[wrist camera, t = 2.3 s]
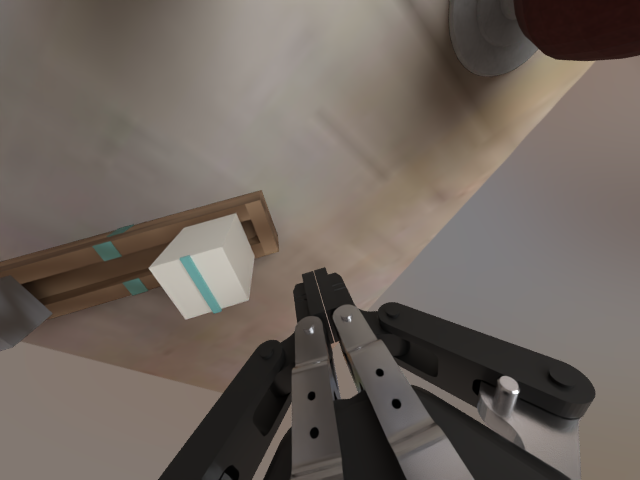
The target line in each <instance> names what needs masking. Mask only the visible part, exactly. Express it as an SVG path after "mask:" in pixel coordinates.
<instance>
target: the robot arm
mask: <svg viewBox="0 0 640 480" xmlns="http://www.w3.org/2000/svg"><path fill="white" fill-rule="evenodd" d="M314 272H315V276H316V279H317V283H318V286H319V289H320V293H321V296H322V300H323V303H324V306H325V310H326V313H327V316H328V320H329V323H330V326H331V330H332V333H333V336H334V340H335V342H338V341H339V343H340V346H341V349H342V352H343V356H344V359H345V361H346V364H347V366H348V368H349V371H350V373H351V376H352V378H353V381H354V383H355V385H356V388H357V391H358V394H357V395H355V396H354V397H352V398H350V399H341V397H340V392H339V386H338V381H337V376H336V370H335V365H334V359H333V352H332V348H331V344H332V343H334V341H333V337H332V334H331V331H330V327H329V324H328V320H327V317H326V313H325V310H324V307H323V303H322V300H321V296H320V293H319V290H318V286H317V283H316V279H315V276H314V273H313V271H311V272H308V273H305V274H302V278H303V283H300V284H297V285H295V288H294V290H293V294H294V301H295V309H296V317H297V325H296V327H295V331H294V333H293V334H292V335H291V336H290V337H289V338H287V339H286V340H284V341H283V342H281V343H280V342H279V341H277V340H269V341H266V342H264V343H262V344H261V345H260V346H259V347H258V348H257V349H256V350H255V352H254V353H253V354H252V355H251V357H250V358H249V359H248V361H247V362H246V363H245V365H244V366H243V367H242V369H241V370H240V371H239V373H238V374H237V375H236V377H235V378H234V379H233V381H232V382H231V383H230V385H229V386H228V387H227V389H226V390H225V391H224V393H223V394H222V396H221V397H220V398H219V399H218V401H217V402H216V403H215V405H214V406H213V407H212V409H211V410H210V411H209V413H208V414H207V415H206V417H205V418H204V419H203V421H202V422H201V423H200V425H199V426H198V428H197V429H196V430H195V431H194V433H193V434H192V435H191V437H190V438H189V439H188V440H187V442H186V443H185V445H184V446H183V447H182V448H181V450H180V451H179V452H178V454H177V455H176V456H175V458H174V459H173V461H172V462H171V463H170V464H169V466H168V467H167V468H166V470H165V471H164V472H163V474H162V475H161V476H160V478H159V479H158V480H252V478H253V476H254V474H255V472H256V470H257V468H258V466H259V464H260V463H261V461H262V459H263V457H264V455H265V453H266V451H267V449H268V447H269V445H270V443H271V441H272V439H273V437H274V435H275V433H276V432H277V430H278V427H279V426H280V424H281V422H282V420H283V418H284V416H285V414H286V412H287V410H288V408H289V406H290V404H291V402H292V427H291V428H290V429H289V430H288V431H287V433H286V434H285V435H284V437H283V439H282V440H281V442H280V444H279V446H278V448H277V451H276V453H275V455H274V457H273V459H272V461H271V464H270V466H269V468H268V470H267V472H266V475H265V477H264V479H263V480H581V467H580V446H579V426H578V424H579V422H580V420H581V419H582V417H583V415H584V414H585V412H586V411H587V409H588V407H589V406H590V404H591V402H592V401H593V399H594V398H595V389H594V387H593V385H592V383H591V382H590V381H589V379H588V378H587V377H586V376H585V375H584V374H582V373H581V372H580V371H579V370H577V369H576V368H574V367H572V366H571V365H569V364H567V363H564V362H562V361H559V360H556V359H553V358H551V357H548V356H545V355H542V354H540V353H537V352H534V351H531V350H528V349H526V348H523V347H520V346H517V345H514V344H511V343H508V342H506V341H503V340H500V339H498V338H494V337H492V336H489V335H486V334H483V333H481V332H477V331H475V330H472V329H469V328H466V327H464V326H461V325H458V324H455V323H453V322H450V321H447V320H444V319H441V318H439V317H436V316H433V315H430V314H427V313H424V312H422V311H418V310H416V309H413V308H410V307H408V306H405V305H402V304H399V303H395V302H389V303H386V304H383V305H382V306H381V307H380V308H379V309H378V311H376V312H375V311H374V312H367V311H363V310H360V309H358V308H357V307H356V306H355V304H354V302H353V300H352V298H351V296H350V294H349V292H348V290H347V288H346V286H345V284H344V281H343V279H342V277H341V276H340V275H338V274H337V273H332V274H329V275H328V273H327V271H326V268H325V267H324V268H321V269H318V270H314ZM398 365H399V366H401V367H402V368H404V369H406V370H408V371H410V372H412V373H413V374H415V375H417V376H419V377H421V378H423V379H424V380H426V381H428V382H430V383H432V384H434V385H435V386H437V387H439V388H441V389H443V390H445V391H446V392H448V393H450V394H452V395H454V396H456V397H458V398H459V399H461V400H463V401H465V402H467V403H469V404H470V405H472V406H474V407H476V408H477V409H478V413H479V415H480V417H481V418H482V420H483V421H484V422H485V424H486V425H487V426H488V427H490V428H491V429H492V430H491V429H490V428H488V427H486V426H485V425H483V424H481V423H480V422H478V421H476V420H475V419H473V418H472V417H470V416H468V415H466V414H465V413H463V412H461V411H460V410H458V409H457V408H455V407H454V406H452V405H450V404H448V403H447V402H445V401H444V400H442V399H440V398H439V397H437V396H435V395H434V394H432V393H430V392H429V391H427V390H425V389H423V388H420V387H417V386H414V385H410V384H409V382H408V380H407V379H406V377H405V376H404V374H403V373H402V371H401V369H400V368H399V366H398Z"/></svg>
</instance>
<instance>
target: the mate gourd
mask: <svg viewBox="0 0 640 480" xmlns="http://www.w3.org/2000/svg"><path fill="white" fill-rule="evenodd" d="M449 31H450V37H451V41H452V45H453V49H454V51H455V53H456V55H457V57H458V59H459V60H460V62H461V63H462V64H463V66H464V67H465V68H467V69H468V70H469V71H471V72H472V73H474V74H477V75H480V76H489V77H491V76H496V75H500V74H504V73H507V72H509V71H512V70H514V69H516V68H517V67H519V66H520V65H522V64H523V63H524V62H526V61H527V60H528V59H529V58H530V57H531V56H532V55H533V54H534V53H535V52H536V51H537V50H538V49H540V50H541V51H542V52H543V53H544V54H545V55H547V56H550V57H552V58H554V59H558V60H574V61H595V60H609V59H622V58H628V57H633V56H638V55H640V0H450V4H449Z"/></svg>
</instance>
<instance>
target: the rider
mask: <svg viewBox="0 0 640 480" xmlns="http://www.w3.org/2000/svg"><path fill="white" fill-rule="evenodd" d="M254 258H255V256H254V253H253V251H252V249H251V246H250V244H249V242H248V239H247V236H246V234H245V232H244V229H243V227H242V225H241V222H240V221H239V219H238V216H237V214H236V213H235V214H231V215H228V216H224V217H221V218H217V219H213V220H210V221H206V222H203V223H199V224H196V225H192V226H188V227H185V228H183V229H182V231H181V232H180V233H179V234H178V235H177V236H176V237H175V239H174V240H173V241H172V242H171V243H170V244H169V245H168V246H167V248H166V249H165V250H164V251H163V252H162V253H161V254H160V255H159V257H158V258H157V259H156V260H155V261H154V262H153V263H152V265H151V266H150V267H149V270H150V271H151V272H152V274H153V275H154V277H155V278H156V279H157V281H158V282H159V284H160V285H161V286H162V288H163V289H164V290H165V292H166V293H167V295H168V296H169V297H170V299H171V300H172V302H173V303H174V304H175V306H176V307H177V308H178V310H179V311H180V313H181V314H182V315H183V317H184V318H185V319H189V318H193V317H196V316H199V315H202V314H206V313H209V312H213V313H214V314H215V313H218V312H221V311H222V308H225V307H229V306H232V305H235V304H238V303H242V302H245V301H248V300H249V296H250V288H251V280H252V273H253V265H254Z"/></svg>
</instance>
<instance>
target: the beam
mask: <svg viewBox="0 0 640 480" xmlns="http://www.w3.org/2000/svg"><path fill="white" fill-rule="evenodd" d="M235 213H236V214H237V216H238V219H239V221H240V222H241V225H242V227H243V229H244V232H245V234H246V236H247V239H248V242H249V244H250V246H251V249H252V251H253V253H254V256H255V258H258V257H262V256H265V255H269V254H272V253H275V252H279V245H278V235H277V232H276V229H275V226H274V224H273V221H272V218H271V215H270V212H269V210H268V207H267V204H266V201H265V198H264V196H263V193H262V190H260V191H257V192H253V193H249V194H246V195H242V196H238V197H235V198H231V199H228V200H224V201H220V202H217V203H213V204H209V205H206V206H202V207H198V208H195V209H191V210H188V211H184V212H180V213H177V214H173V215H169V216H166V217H162V218H158V219H155V220H151V221H148V222H144V223H140V224H137V225H130V226H126V227H122V228H119V229H117V230H115V231H111V232H107V233H104V234H100V235H97V236H93V237H89V238H86V239H82V240H78V241H75V242H71V243H67V244H64V245H60V246H57V247H53V248H49V249H46V250H42V251H38V252H35V253H31V254H27V255H24V256H20V257H17V258H13V259H9V260H6V261H2V262H0V351H2V350H6V349H9V348H12V347H14V346H15V345H16V344H18V343H19V342H20V341H21V340H22V339H23V338H25V337H26V336H27V335H28V334H29V333H31V332H32V331H33V330H34V329H35V328H36V327H38V326H39V325H40V324H41V323H42V322H44V321H45V320H48V319H52V318H55V317H58V316H62V315H65V314H69V313H72V312H75V311H79V310H82V309H86V308H89V307H92V306H96V305H99V304H103V303H106V302H109V301H113V300H116V299H119V298H123V297H126V296H130V295H136V294H139V293H143V292H146V291H148V290H150V289H153V288H157V287H160V286H161V285H160V284H159V282H158V281H157V279H156V278H155V277H154V275H153V274H152V272H151V271H150V270H149V267H150V266H151V265H152V263H153V262H154V261H155V260H156V259H157V258H158V257H159V255H160V254H161V253H162V252H163V251H164V250H165V249H166V248H167V246H168V245H169V244H170V243H171V242H172V241H173V240H174V239H175V237H176V236H177V235H178V234H179V233H180V232H181V231H182V229H183V228H185V227H188V226H192V225H196V224H199V223H203V222H206V221H210V220H213V219H217V218H221V217H224V216H228V215H231V214H235ZM255 258H254V259H255Z"/></svg>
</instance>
